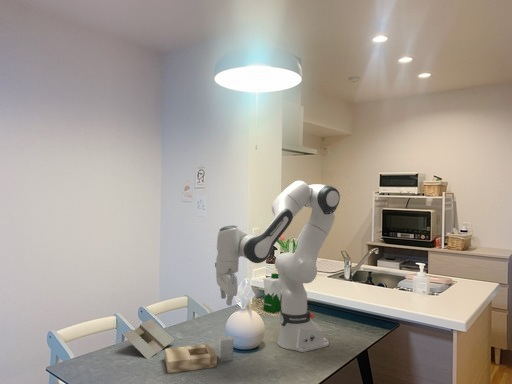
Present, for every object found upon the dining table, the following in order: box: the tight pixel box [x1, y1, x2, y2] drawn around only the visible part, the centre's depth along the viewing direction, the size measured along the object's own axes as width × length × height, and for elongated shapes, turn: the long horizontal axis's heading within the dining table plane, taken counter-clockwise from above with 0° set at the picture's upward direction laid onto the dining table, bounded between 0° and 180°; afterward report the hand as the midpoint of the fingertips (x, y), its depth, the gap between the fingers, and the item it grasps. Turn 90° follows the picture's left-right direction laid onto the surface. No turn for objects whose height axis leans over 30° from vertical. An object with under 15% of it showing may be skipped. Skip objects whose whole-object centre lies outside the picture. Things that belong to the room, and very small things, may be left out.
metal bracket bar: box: [217, 335, 234, 362], centre depth 150 cm, size 5×4×8 cm
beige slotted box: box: [122, 318, 176, 359], centre depth 159 cm, size 16×9×15 cm
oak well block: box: [164, 343, 218, 374], centre depth 146 cm, size 18×12×4 cm, turn 108°
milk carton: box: [262, 272, 282, 314], centre depth 211 cm, size 9×9×20 cm
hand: (226, 301), depth 150 cm, fingers open, 8 cm apart
